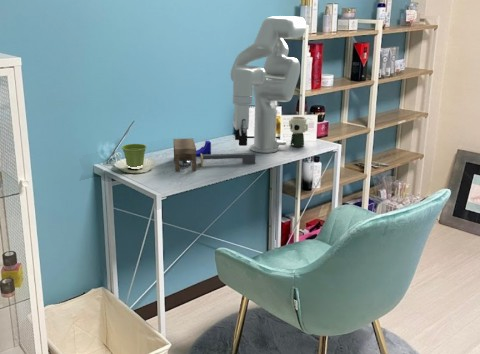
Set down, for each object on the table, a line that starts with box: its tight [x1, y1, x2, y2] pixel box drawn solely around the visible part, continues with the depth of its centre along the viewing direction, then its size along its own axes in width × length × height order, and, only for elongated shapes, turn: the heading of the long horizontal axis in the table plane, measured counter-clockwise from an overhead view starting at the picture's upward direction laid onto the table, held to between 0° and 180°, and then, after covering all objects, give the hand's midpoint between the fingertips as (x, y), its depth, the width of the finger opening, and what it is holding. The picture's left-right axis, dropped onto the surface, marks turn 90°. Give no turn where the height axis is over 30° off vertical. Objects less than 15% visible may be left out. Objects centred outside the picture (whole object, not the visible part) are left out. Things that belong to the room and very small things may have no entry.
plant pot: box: [121, 143, 147, 167], centre depth 213 cm, size 9×9×9 cm
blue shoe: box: [196, 140, 212, 158], centre depth 231 cm, size 12×4×6 cm, turn 110°
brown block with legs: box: [172, 137, 197, 172], centre depth 217 cm, size 8×15×9 cm, turn 9°
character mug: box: [288, 115, 309, 147], centre depth 247 cm, size 11×7×13 cm, turn 43°
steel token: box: [179, 159, 192, 168], centre depth 218 cm, size 5×5×2 cm
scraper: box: [199, 152, 256, 168], centre depth 221 cm, size 22×5×4 cm, turn 99°
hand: (240, 142), depth 219 cm, fingers open, 9 cm apart
